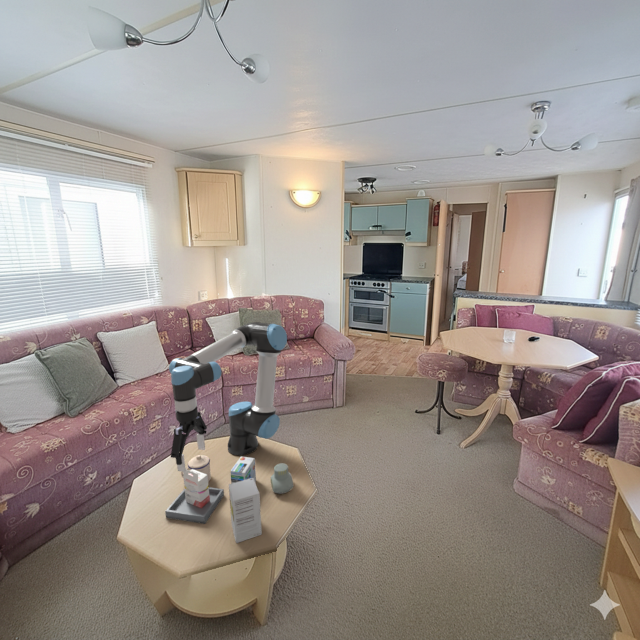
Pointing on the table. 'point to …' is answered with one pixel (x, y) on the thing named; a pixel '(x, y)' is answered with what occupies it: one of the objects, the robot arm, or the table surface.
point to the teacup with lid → (200, 465)
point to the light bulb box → (243, 470)
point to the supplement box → (245, 509)
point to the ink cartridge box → (196, 488)
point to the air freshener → (281, 479)
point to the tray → (194, 507)
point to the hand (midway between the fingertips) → (192, 459)
